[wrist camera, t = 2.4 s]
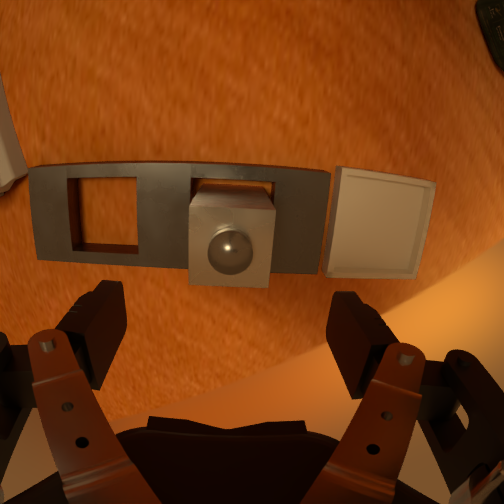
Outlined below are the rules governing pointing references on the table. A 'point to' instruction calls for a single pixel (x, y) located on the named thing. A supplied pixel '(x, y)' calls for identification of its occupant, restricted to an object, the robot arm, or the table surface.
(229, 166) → the rack rail
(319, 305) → the table surface
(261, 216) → the grey rectangular block
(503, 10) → the coffee jar
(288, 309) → the table surface
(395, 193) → the parts tray
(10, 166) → the beige device enclosure
